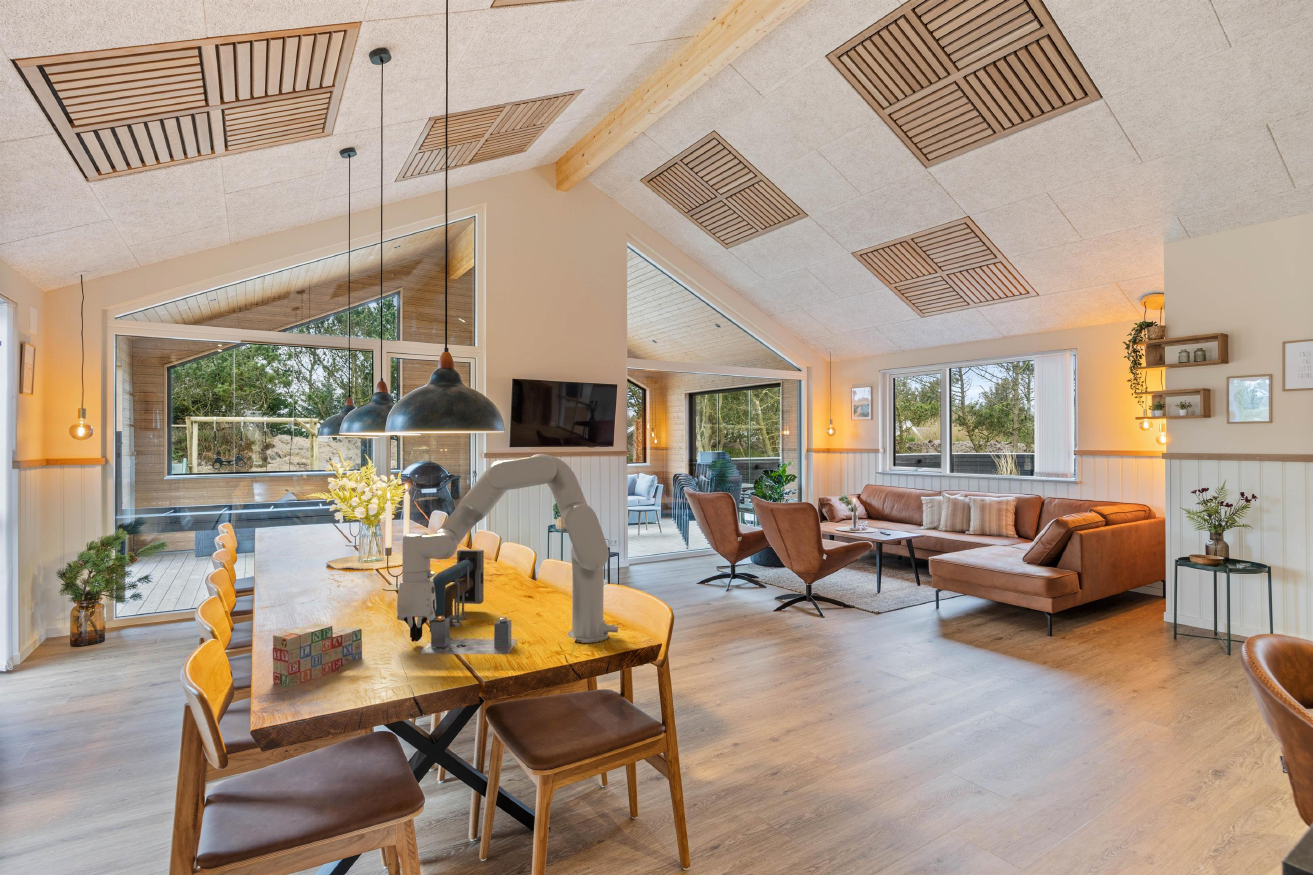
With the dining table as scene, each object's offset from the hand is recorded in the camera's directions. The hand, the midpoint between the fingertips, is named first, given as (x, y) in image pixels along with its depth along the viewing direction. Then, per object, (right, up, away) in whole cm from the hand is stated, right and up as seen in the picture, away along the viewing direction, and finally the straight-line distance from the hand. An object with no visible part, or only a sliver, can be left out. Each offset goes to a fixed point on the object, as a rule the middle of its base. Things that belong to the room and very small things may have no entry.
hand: (416, 639), depth 196 cm
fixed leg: (+25, -2, 0) cm, 25 cm away
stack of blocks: (-19, -3, -19) cm, 26 cm away
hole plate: (+15, -3, 0) cm, 16 cm away
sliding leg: (+7, -2, 0) cm, 7 cm away
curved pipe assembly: (+2, -3, +28) cm, 28 cm away
